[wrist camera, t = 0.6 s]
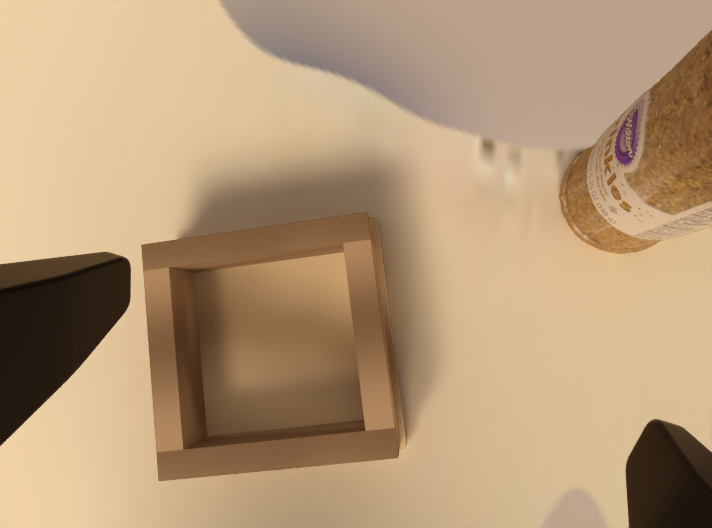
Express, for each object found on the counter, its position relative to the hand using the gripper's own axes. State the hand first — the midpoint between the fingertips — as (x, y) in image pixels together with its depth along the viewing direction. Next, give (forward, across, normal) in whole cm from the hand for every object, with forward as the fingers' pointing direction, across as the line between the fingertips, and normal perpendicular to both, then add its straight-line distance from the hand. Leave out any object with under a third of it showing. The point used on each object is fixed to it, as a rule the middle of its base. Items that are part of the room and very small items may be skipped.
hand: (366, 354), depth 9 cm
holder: (+10, +4, +8) cm, 14 cm away
